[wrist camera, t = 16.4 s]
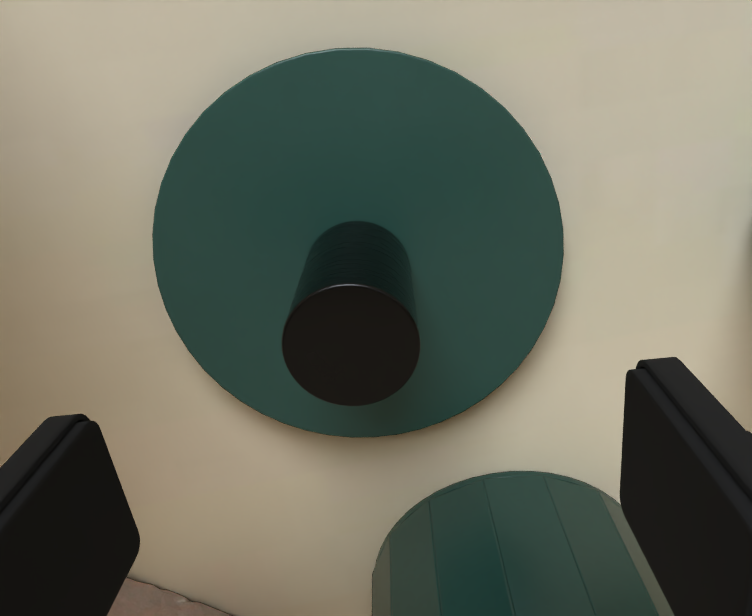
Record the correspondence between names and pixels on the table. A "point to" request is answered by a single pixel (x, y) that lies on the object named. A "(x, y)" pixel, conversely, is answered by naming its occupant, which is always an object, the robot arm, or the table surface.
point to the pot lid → (358, 242)
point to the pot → (515, 553)
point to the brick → (156, 602)
